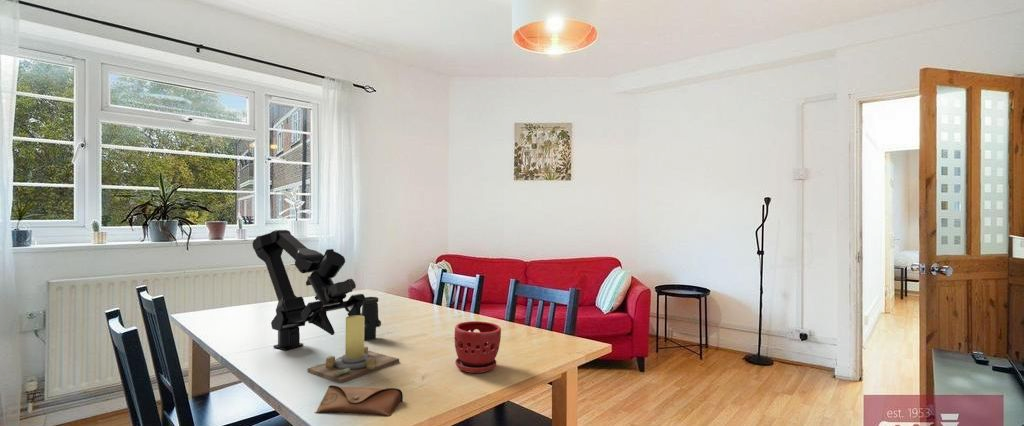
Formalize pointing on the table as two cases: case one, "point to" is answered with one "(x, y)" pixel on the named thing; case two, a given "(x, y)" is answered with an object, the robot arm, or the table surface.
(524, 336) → the table surface
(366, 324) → the scope
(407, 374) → the table surface
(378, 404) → the sunglasses case
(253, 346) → the table surface
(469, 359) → the plant pot
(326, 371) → the board
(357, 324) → the yellow pillar candle
